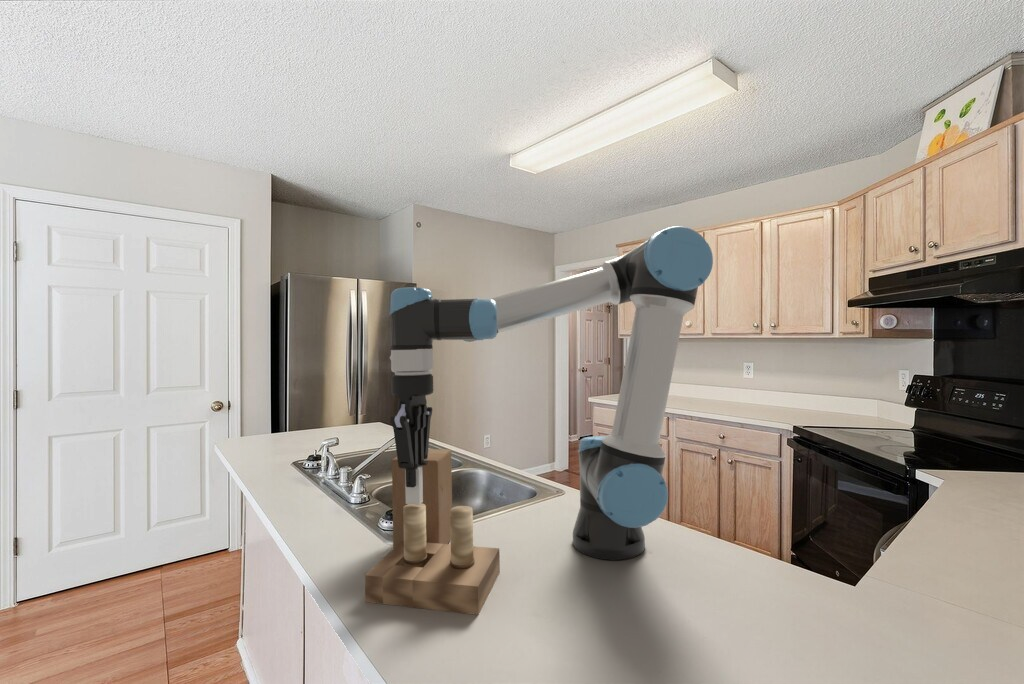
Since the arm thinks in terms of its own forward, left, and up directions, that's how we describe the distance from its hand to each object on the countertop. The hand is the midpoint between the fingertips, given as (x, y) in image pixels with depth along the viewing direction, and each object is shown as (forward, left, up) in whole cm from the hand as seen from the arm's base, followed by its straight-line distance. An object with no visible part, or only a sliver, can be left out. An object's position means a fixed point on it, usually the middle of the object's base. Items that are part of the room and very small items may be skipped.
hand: (414, 502), depth 83 cm
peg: (0, 0, -15) cm, 15 cm away
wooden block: (+5, -15, -15) cm, 22 cm away
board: (-4, 0, -15) cm, 15 cm away
